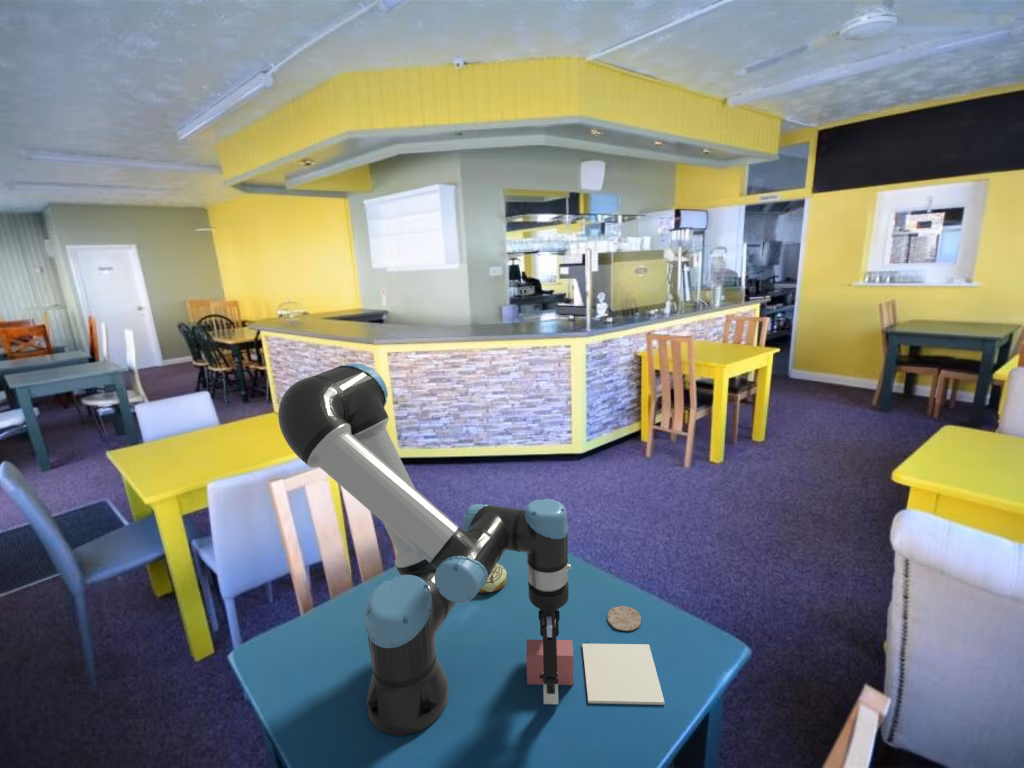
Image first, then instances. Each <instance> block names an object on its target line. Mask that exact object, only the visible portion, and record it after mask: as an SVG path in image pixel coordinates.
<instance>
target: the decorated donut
mask: <svg viewBox="0 0 1024 768" xmlns="http://www.w3.org/2000/svg"><path fill="white" fill-rule="evenodd" d="M507 576H508V575H507V571H506V569H505V567H504V566H503V565H502V564H500V563H498V562H497V564H496V565H495V567H494V569H493V570H492V572H491V574H490V575H489V577H488V579H487V581H486V584H485V585H484V586H483V587H482V588H481V589H480V590H479V592H478V593H479V594H481V593H483V594H485V593H487V594H488V593H496V592H497V591H499V590H501V589H503V587H505V585H506V582H507ZM478 593H477V594H478Z"/></svg>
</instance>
